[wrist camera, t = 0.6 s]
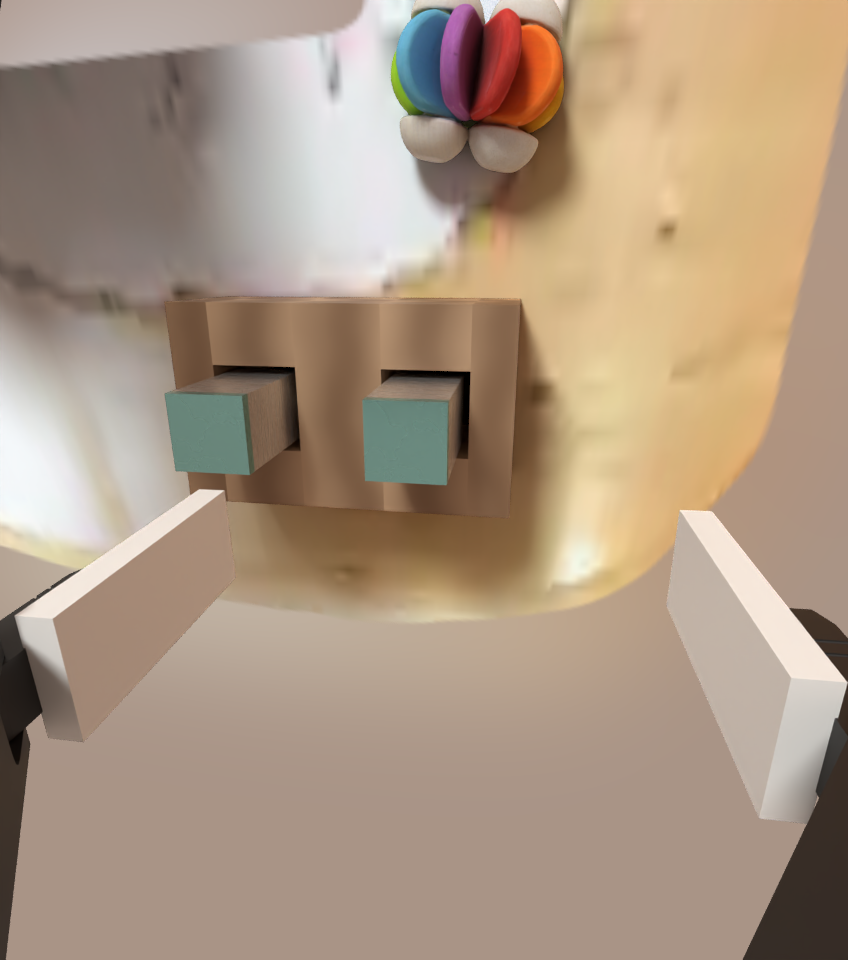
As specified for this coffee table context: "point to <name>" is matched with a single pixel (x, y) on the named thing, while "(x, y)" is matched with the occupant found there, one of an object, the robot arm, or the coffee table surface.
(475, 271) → the coffee table surface
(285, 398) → the peg
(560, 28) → the rainbow disc car
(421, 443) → the peg
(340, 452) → the socket block
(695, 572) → the robot arm
